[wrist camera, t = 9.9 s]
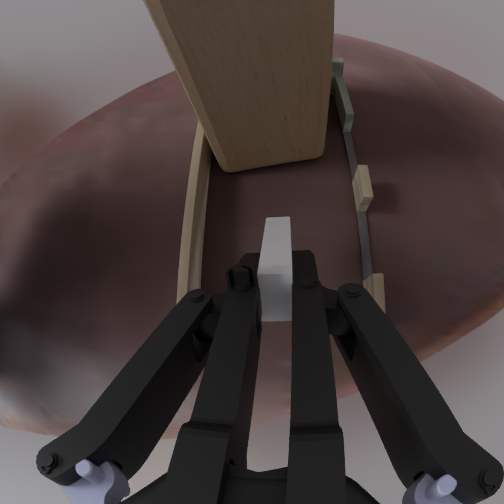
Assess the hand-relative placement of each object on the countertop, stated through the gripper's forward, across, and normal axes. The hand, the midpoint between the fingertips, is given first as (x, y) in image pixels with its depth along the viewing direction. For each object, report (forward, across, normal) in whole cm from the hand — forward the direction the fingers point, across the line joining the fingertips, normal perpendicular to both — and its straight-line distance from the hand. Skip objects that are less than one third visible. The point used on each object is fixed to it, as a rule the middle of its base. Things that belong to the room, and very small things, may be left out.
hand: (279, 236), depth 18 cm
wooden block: (+13, -1, +6) cm, 14 cm away
